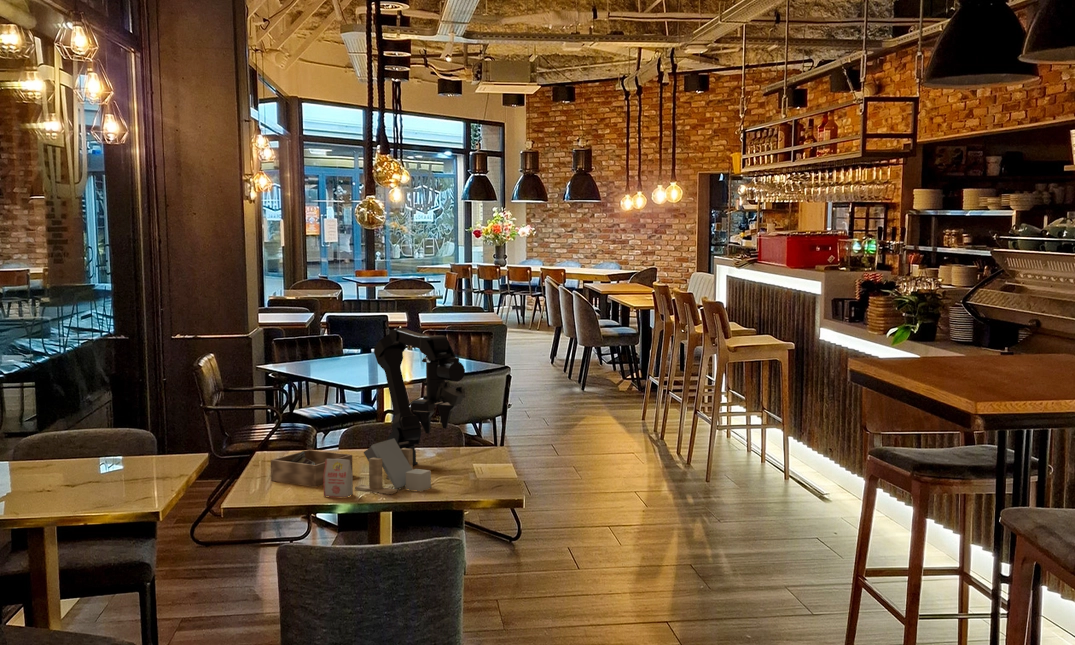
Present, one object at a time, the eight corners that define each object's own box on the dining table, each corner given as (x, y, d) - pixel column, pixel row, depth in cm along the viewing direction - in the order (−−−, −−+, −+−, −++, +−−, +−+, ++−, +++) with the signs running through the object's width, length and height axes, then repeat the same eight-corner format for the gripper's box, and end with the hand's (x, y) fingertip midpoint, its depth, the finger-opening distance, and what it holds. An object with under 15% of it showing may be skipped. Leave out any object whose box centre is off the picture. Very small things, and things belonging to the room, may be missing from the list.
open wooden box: (271, 480, 268) (270, 460, 268) (309, 469, 283) (308, 449, 282) (315, 486, 261) (315, 465, 260) (352, 474, 275) (352, 454, 275)
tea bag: (329, 493, 254) (328, 457, 253) (352, 494, 252) (352, 458, 252) (323, 497, 250) (323, 460, 249) (347, 498, 249) (346, 461, 248)
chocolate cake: (289, 486, 264) (316, 453, 269) (272, 476, 267) (299, 443, 273) (302, 502, 271) (328, 469, 277) (285, 492, 275) (311, 460, 280)
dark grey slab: (362, 452, 260) (373, 444, 259) (383, 446, 269) (394, 438, 267) (387, 496, 257) (398, 487, 256) (407, 488, 266) (418, 480, 265)
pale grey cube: (405, 472, 257) (420, 474, 255) (415, 468, 262) (430, 470, 260) (405, 490, 258) (420, 492, 255) (415, 486, 262) (430, 488, 260)
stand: (355, 489, 258) (354, 457, 257) (392, 476, 273) (392, 446, 273) (390, 494, 252) (390, 461, 252) (426, 480, 268) (426, 450, 267)
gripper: (441, 383, 262) (442, 438, 263) (475, 376, 279) (476, 428, 280) (409, 381, 267) (409, 435, 268) (444, 374, 284) (444, 425, 285)
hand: (436, 430), depth 275 cm, fingers open, 9 cm apart
